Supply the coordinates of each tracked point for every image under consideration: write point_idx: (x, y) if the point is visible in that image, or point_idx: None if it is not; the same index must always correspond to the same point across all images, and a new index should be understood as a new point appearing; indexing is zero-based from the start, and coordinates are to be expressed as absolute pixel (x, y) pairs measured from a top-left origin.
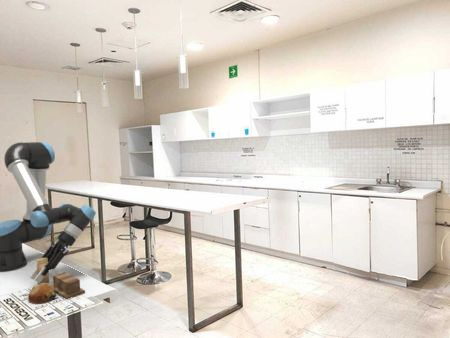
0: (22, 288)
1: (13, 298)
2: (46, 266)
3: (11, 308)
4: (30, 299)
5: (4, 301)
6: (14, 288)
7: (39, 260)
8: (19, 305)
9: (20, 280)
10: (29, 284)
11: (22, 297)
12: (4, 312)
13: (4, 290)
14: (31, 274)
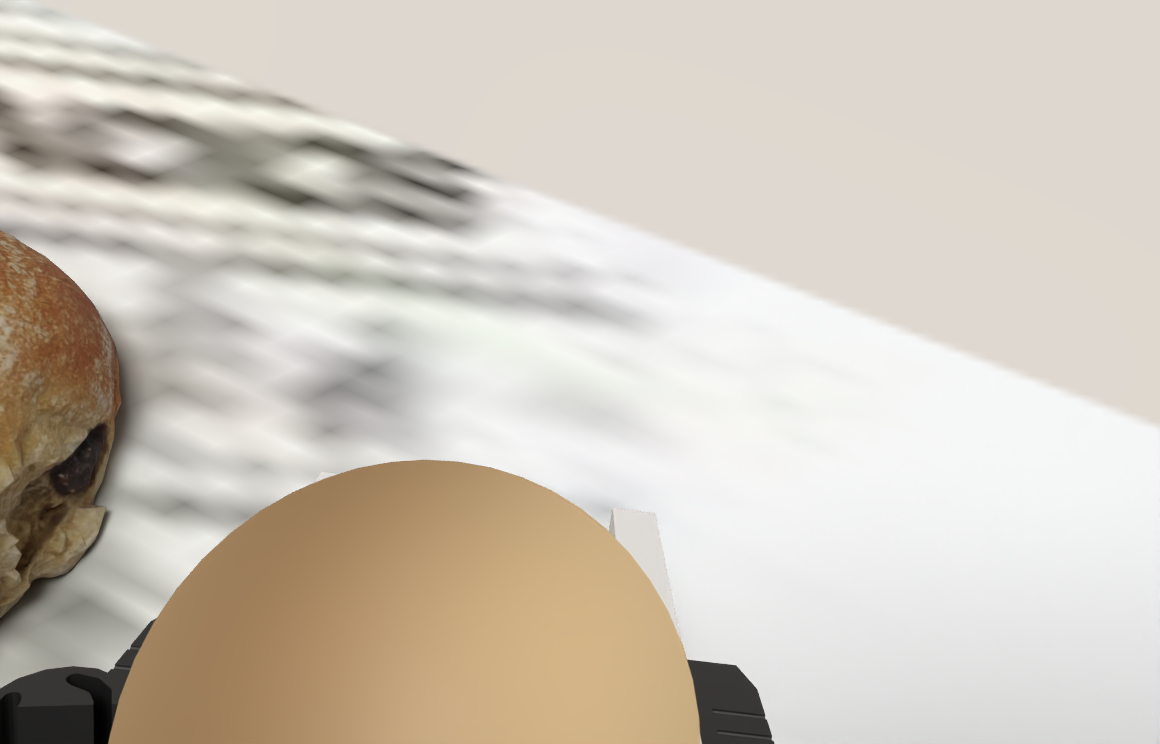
0: (691, 491)
1: (398, 239)
2: (12, 730)
3: (91, 92)
4: None
5: (413, 144)
6: (805, 420)
7: (378, 554)
8: (65, 172)
9: (1156, 663)
10: (790, 661)
11: (299, 316)
12: (73, 15)
13: (842, 307)
14: (653, 547)
